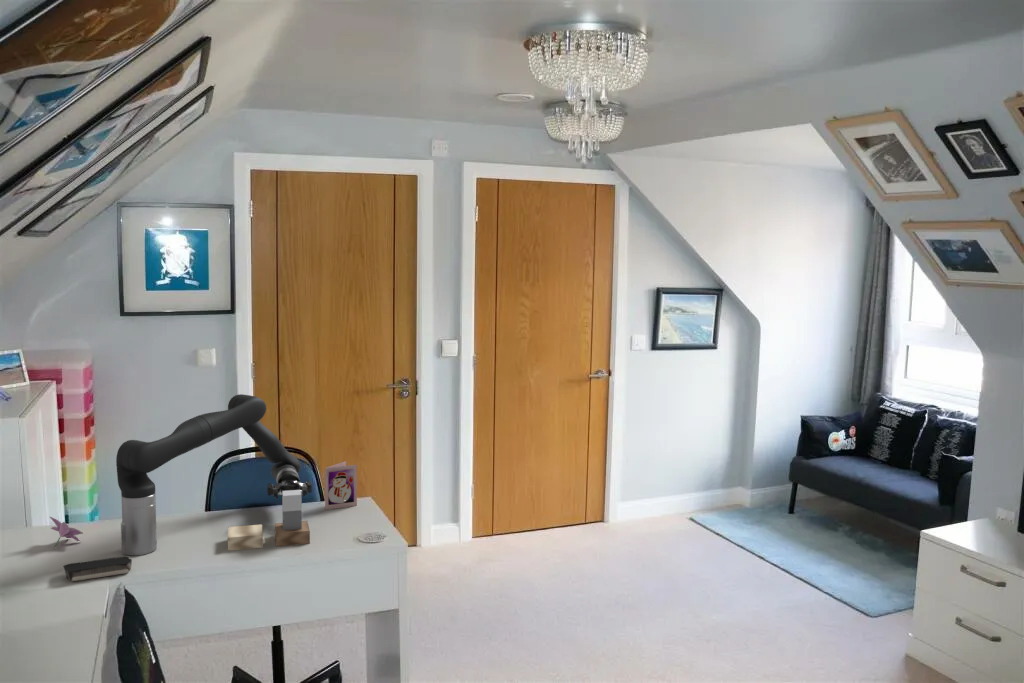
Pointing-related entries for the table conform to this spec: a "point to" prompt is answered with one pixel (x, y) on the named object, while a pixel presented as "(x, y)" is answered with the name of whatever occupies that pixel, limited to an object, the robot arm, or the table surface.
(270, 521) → the table surface
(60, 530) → the lily
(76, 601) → the table surface
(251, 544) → the birch stand
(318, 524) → the table surface
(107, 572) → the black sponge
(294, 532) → the walnut stand
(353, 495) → the greeting card
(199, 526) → the table surface
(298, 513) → the block
